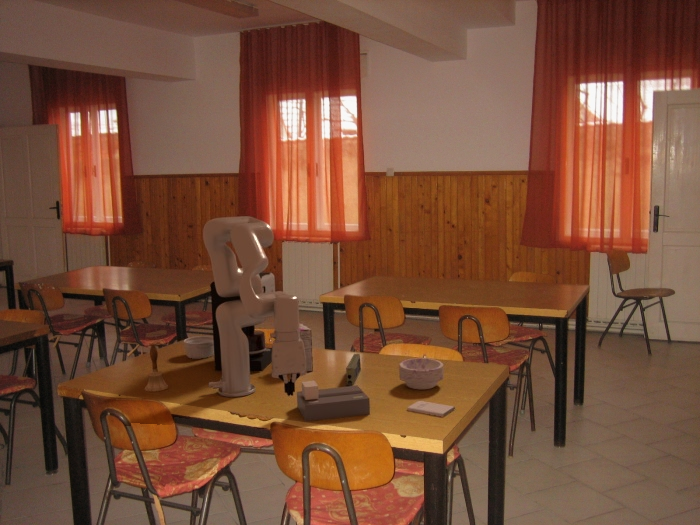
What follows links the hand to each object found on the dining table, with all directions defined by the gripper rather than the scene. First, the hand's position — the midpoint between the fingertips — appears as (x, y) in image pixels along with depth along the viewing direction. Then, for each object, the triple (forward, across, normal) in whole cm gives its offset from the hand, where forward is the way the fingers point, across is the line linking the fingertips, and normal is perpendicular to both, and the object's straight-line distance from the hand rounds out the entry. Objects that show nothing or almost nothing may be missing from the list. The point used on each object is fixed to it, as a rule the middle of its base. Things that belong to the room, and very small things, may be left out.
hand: (289, 394), depth 211 cm
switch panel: (+7, +13, 0) cm, 15 cm away
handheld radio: (+7, +28, +31) cm, 42 cm away
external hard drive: (+8, +42, -9) cm, 44 cm away
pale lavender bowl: (+7, +48, +15) cm, 51 cm away
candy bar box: (+7, +13, +51) cm, 53 cm away
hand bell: (+7, -41, +44) cm, 60 cm away
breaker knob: (+1, +6, 0) cm, 6 cm away
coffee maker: (+7, -7, +65) cm, 66 cm away
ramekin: (+7, -24, +86) cm, 89 cm away
